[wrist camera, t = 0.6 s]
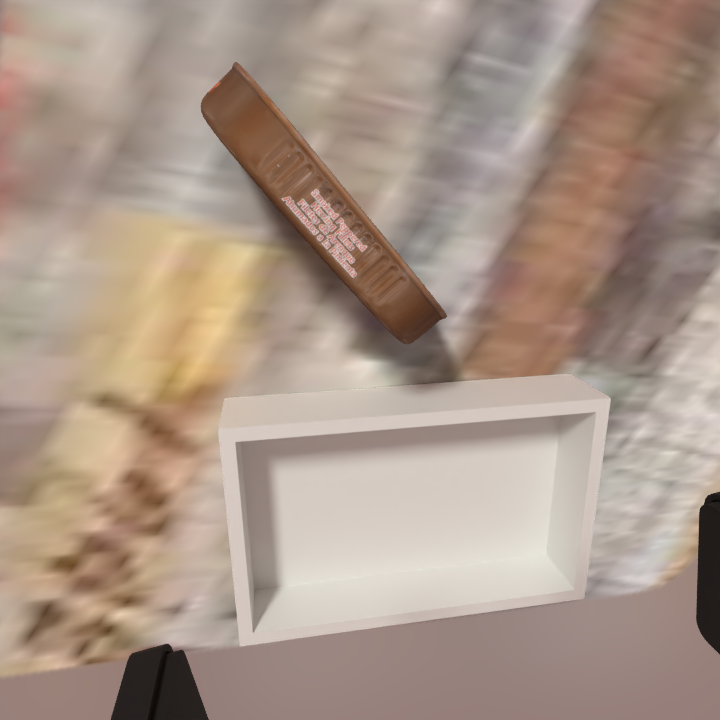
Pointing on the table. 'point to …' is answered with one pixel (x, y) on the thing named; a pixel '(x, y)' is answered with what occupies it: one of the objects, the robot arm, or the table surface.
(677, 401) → the table surface
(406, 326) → the tin
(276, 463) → the tote
